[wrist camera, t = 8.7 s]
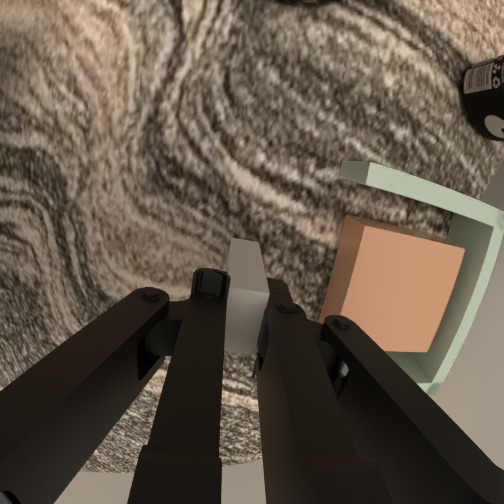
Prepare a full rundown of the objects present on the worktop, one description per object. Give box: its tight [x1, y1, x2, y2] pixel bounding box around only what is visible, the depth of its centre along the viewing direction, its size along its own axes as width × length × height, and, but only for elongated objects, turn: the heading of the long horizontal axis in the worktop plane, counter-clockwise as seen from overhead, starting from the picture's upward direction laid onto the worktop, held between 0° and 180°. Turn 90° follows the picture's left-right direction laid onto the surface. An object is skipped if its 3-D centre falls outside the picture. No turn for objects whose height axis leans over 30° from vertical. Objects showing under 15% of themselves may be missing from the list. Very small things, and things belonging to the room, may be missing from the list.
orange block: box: [319, 214, 465, 352], centre depth 20 cm, size 8×8×4 cm
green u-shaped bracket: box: [339, 161, 504, 395], centre depth 19 cm, size 11×14×5 cm
